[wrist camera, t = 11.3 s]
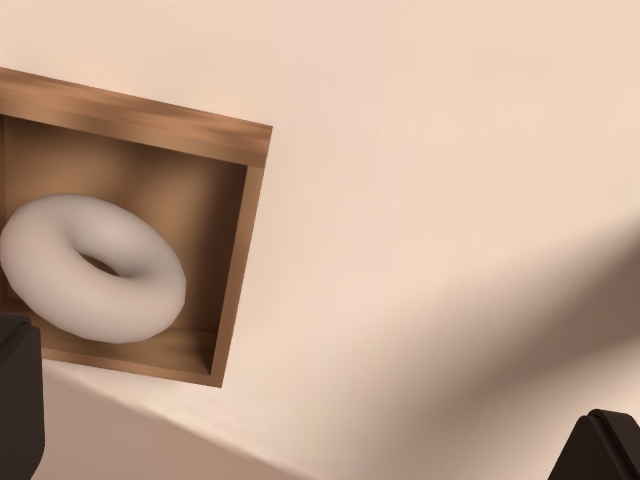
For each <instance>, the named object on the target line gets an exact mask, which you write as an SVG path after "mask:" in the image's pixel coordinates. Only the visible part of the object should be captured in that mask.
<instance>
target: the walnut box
mask: <svg viewBox="0 0 640 480" xmlns="http://www.w3.org/2000/svg"><path fill="white" fill-rule="evenodd" d="M272 128H273V126H268V125H264V124H259V123H255V122H250V121H245V120H241V119H236V118H232V117H227V116H222V115H218V114H213V113H209V112H204V111H199V110H195V109H190V108H186V107H181V106H177V105H172V104H167V103H163V102H158V101H154V100H149V99H144V98H140V97H135V96H131V95H126V94H121V93H117V92H112V91H108V90H103V89H98V88H94V87H89V86H85V85H80V84H75V83H71V82H66V81H62V80H57V79H52V78H48V77H43V76H39V75H34V74H29V73H25V72H20V71H16V70H11V69H6V68H2V67H0V236H1V233H2V230H3V229H4V227H5V225H6V224H7V222H8V221H9V219H10V217H11V216H12V214H13V213H14V212H15V211H16V210H17V209H18V208H19V207H21V206H23V205H25V204H27V203H29V202H31V201H33V200H35V199H37V198H39V197H41V196H46V195H55V194H65V193H72V194H79V195H86V196H92V197H95V198H98V199H101V200H104V201H107V202H110V203H113V204H115V205H117V206H119V207H121V208H123V209H125V210H127V211H129V212H131V213H132V214H134V215H136V216H137V217H139V218H140V219H141V220H143V221H144V222H146V223H147V224H148V225H150V226H151V227H153V228H154V229H155V230H156V231H157V232H158V233H159V234H160V235H161V236H162V237H163V238H164V239H165V240H166V241H167V242H168V243H169V245H170V246H171V248H172V249H173V251H174V252H175V254H176V255H177V256H178V258H179V260H180V263H181V266H182V269H183V272H184V275H185V278H186V293H185V304H184V306H183V308H182V310H181V312H180V313H179V315H178V316H177V317H176V319H175V320H174V322H173V323H172V324H171V325H170V326H169V327H168V328H167V329H166V330H164V331H162V332H160V333H158V334H156V335H154V336H152V337H150V338H148V339H146V340H143V341H140V342H131V343H121V344H114V343H107V342H101V341H95V340H89V339H84V338H82V337H79V336H77V335H74V334H72V333H69V332H67V331H64V330H62V329H59V328H57V327H56V326H54V325H53V324H51V323H50V322H48V321H47V320H45V319H44V318H42V317H41V316H39V315H38V314H36V313H35V312H34V311H33V310H32V309H31V308H30V307H29V306H28V305H27V304H26V303H25V302H24V301H23V300H22V299H21V298H20V296H19V295H18V294H17V293H16V292H15V291H14V290H13V289H12V287H11V285H10V283H9V281H8V279H7V277H6V275H5V273H4V271H3V269H2V267H1V261H0V311H2V312H8V313H15V314H21V315H26V316H28V317H29V318H30V320H31V325H33V326H37V327H39V329H40V333H41V355H42V358H44V359H50V360H56V361H62V362H68V363H74V364H80V365H86V366H92V367H98V368H104V369H110V370H116V371H122V372H128V373H134V374H140V375H146V376H152V377H158V378H164V379H170V380H176V381H182V382H188V383H194V384H200V385H206V386H212V387H218V388H222V383H223V378H224V373H225V369H226V364H227V359H228V354H229V350H230V345H231V340H232V335H233V330H234V325H235V319H236V314H237V309H238V304H239V299H240V294H241V288H242V283H243V278H244V273H245V268H246V263H247V257H248V252H249V247H250V242H251V237H252V231H253V226H254V221H255V216H256V211H257V206H258V200H259V195H260V190H261V185H262V180H263V175H264V169H265V164H266V159H267V154H268V149H269V144H270V138H271V133H272ZM80 255H81V256H82V257H83V258H84V259H85V260H86V261H87V262H89V263H90V264H92V265H93V266H95V267H96V268H98V269H100V270H102V271H104V272H106V273H109V274H111V275H114V276H118V277H120V276H119V275H118V274H117V273H116V272H115V271H114V270H113V269H112V268H110V267H109V266H107V265H106V264H105V263H103V262H101V261H99V260H97V259H95V258H93V257H90V256H86V255H83V254H80Z"/></svg>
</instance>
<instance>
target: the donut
mask: <svg viewBox="0 0 640 480" xmlns="http://www.w3.org/2000/svg"><path fill="white" fill-rule="evenodd" d="M80 254H83V255H86V256H90V257H93V258H95V259H97V260H99V261H101V262H103V263H105V264H106V265H107V266H109V267H110V268H112V269H113V270H114V271H115V272H116V273H117V274H118V275H119V276H120V277H118V276H114V275H111V274H109V273H106V272H104V271H102V270H100V269H98V268H96V267H95V266H93V265H92V264H90V263H89V262H87V261H86V260H85V259H84V258H83V257H82V256H81V255H80ZM0 261H1V267H2V269H3V271H4V273H5V275H6V277H7V279H8V281H9V283H10V285H11V287H12V289H13V290H14V291H15V292H16V293H17V294H18V295H19V296H20V298H21V299H22V300H23V301H24V302H25V303H26V304H27V305H28V306H29V307H30V308H31V309H32V310H33V311H34V312H35V313H36V314H38V315H39V316H41V317H42V318H44V319H45V320H47V321H48V322H50V323H51V324H53V325H54V326H56V327H57V328H59V329H62V330H64V331H67V332H69V333H72V334H74V335H77V336H79V337H82V338H84V339H89V340H95V341H101V342H107V343H114V344H121V343H131V342H140V341H143V340H146V339H148V338H150V337H152V336H154V335H156V334H158V333H160V332H162V331H164V330H166V329H167V328H168V327H169V326H170V325H171V324H172V323H173V322H174V320H175V319H176V317H177V316H178V315H179V313H180V312H181V310H182V308H183V306H184V304H185V293H186V278H185V275H184V272H183V269H182V266H181V263H180V260H179V258H178V256H177V255H176V254H175V252H174V251H173V249H172V248H171V246H170V245H169V243H168V242H167V241H166V240H165V239H164V238H163V237H162V236H161V235H160V234H159V233H158V232H157V231H156V230H155V229H154V228H153V227H151V226H150V225H148V224H147V223H146V222H144V221H143V220H141V219H140V218H139V217H137V216H136V215H134V214H132V213H131V212H129V211H127V210H125V209H123V208H121V207H119V206H117V205H115V204H113V203H110V202H107V201H104V200H101V199H98V198H95V197H92V196H86V195H79V194H72V193H65V194H55V195H46V196H41V197H39V198H37V199H35V200H33V201H31V202H29V203H27V204H25V205H23V206H21V207H19V208H18V209H17V210H16V211H15V212H14V213H13V214H12V216H11V217H10V219H9V221H8V222H7V224H6V225H5V227H4V229H3V230H2V233H1V236H0Z"/></svg>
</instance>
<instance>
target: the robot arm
mask: <svg viewBox="0 0 640 480" xmlns="http://www.w3.org/2000/svg"><path fill="white" fill-rule="evenodd" d="M44 447H45V431H44V405H43V381H42V355H41V333H40V329H39V327H37V326H33V325H31V320H30V318H29V317H28V316H26V315H21V314H15V313H8V312H2V311H0V480H30V479H31V477H32V476H33V474H34V472H35V470H36V469H37V467H38V465H39V463H40V461H41V458H42V456H43V452H44ZM548 480H640V427H639V426H638V424H637V423H636V421H635V420H634V419H633V417H632V416H630V415H628V414H625V413H619V412H613V411H607V410H601V409H593V410H592V411H590V412H589V413H588V415H587V416H581V417H580V418H579V419H578V421H577V422H576V424H575V426H574V428H573V430H572V432H571V434H570V436H569V438H568V440H567V442H566V444H565V446H564V448H563V450H562V452H561V454H560V456H559V458H558V460H557V462H556V464H555V466H554V468H553V470H552V472H551V474H550V476H549V478H548Z"/></svg>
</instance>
